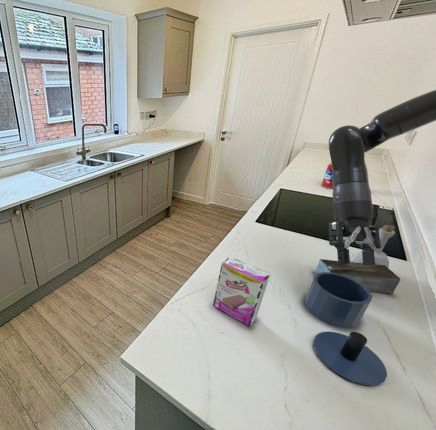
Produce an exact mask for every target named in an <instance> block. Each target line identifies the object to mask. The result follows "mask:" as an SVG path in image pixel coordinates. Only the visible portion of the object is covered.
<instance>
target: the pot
mask: <svg viewBox="0 0 436 430" xmlns="http://www.w3.org/2000/svg"><path fill="white" fill-rule="evenodd" d="M372 300H373V295H372V293H371V291H369V290H368V289H367V288H366V287H365V286H363V285H362V284H361V283H359V282H357V281H355V280H354V279H352V278H349V277H346V276H344V275H341V274H336V273H332V272H322V273H318V274H316V273H315V275H314V276H313V278H312V280H311V283H310V286H309V288H308V291H307V293H306V296H305V298H304V305H305V307H306V309H307V310H308V311H309V313H311V315H313V316H314V317H315V318H317V319H318V320H320V321H322V322H324V323H325V324H328V325H331V326H334V327H337V328H341V329H351V328H355V327H357V326H358V325H359V323H360V321H361V319H362V318H363V316H364V314H365V313H366V311H367V309H368V308H369V306H370V304H371V302H372Z"/></svg>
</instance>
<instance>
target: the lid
mask: <svg viewBox="0 0 436 430" xmlns="http://www.w3.org/2000/svg"><path fill="white" fill-rule="evenodd" d="M367 343H368V338H367V337H366V336H365V335H364V334H362V333H360V332H359V331H351V332H350V333H349V335H346V334H343V333H341V332H335V331H322V332H319V333H318V334H316V335H315V336H314V337H313V343H312V344H313V349H314V351H315V353H316V355H317V356H318V358H319V359H320V360H321V362H323V363H324V365H325V366H327V367H328V368H329V369H330V370H332V371H333V372H334V373H336V374H337V375H339V376H340V377H342V378H344V379H346V380H348V381H350V382H353V383H355V384H359V385H363V386H373V387H374V386H379V385H382V384H383V383H384V382H386V379H387V377H388V373H387V368H386V366H385V364H384V363H383V361H382V360H381V359H380V357H379V356H378V355H377V354H376V353H375V352H374V351H373V350H372V349H370V348H369V347H368V346H367Z"/></svg>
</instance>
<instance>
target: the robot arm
mask: <svg viewBox="0 0 436 430" xmlns="http://www.w3.org/2000/svg"><path fill="white" fill-rule="evenodd" d="M434 122H436V89H434V90H432V91H431V90H430V91H428V92H425V93H423V94H420V95H418V96H415V97H413V98H410V99H408V100H406V101H403V102H402V103H399V104H397V105H394V106H393V107H390V108H388V109H387V110H385V111H382V112H380V113H378V114H376V115H375V116H374V117H373V118H372V119H371V121H370V122H369V123H367V124H365V125H363V126H361V127H358V126H356V125H350V124H349V125H343V126H339V127H338V128H336V129H335V130H334V131H333V132H332V133H331V134H330V136H329V137H328V151H329V156H330V161H331V162H330V163H332V178H333V189H332V208H333V219H334V220H335V221H331V222H330V221H329V223H328V245H329V246H331V247H334V248H335V249H336V254H337V261H338V262H339V264H350V262H351V257H350V249H349V248H350V247H351V246H350V245H351V244H352V243H354V242H355V244H357V245H359V247H360V248H361V250H363V251H362V257H363V264H364V265H368V266H374V265H375V257H374V251H375V250H376V249H380V248H381V243H380V235H379V229H380V228H379V226H378V225H369V222H368V221H371V220H373V219H374V211H373V210H374V209H373V200H372V191H371V188H370V181H369V172H368V167H367V164H366V159H365V153H367V152H369V151H371V150H372V149H375V148H376V147H378V146H380V145H382V144H384V143H385V142H387V141H389V140H391V139H394V138H398V137H399V136H402V135H404V134H407V133H410V132H412V131H414V130H416V129H419V128H421V127H423V126H427V125H428V124H430V123H434ZM335 237H336V238H335ZM335 239H336V240H335Z"/></svg>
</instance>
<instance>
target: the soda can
mask: <svg viewBox="0 0 436 430" xmlns="http://www.w3.org/2000/svg"><path fill="white" fill-rule="evenodd" d="M320 186H321V187H323V188H325V189H329V190H330V189H331V190H333V178H332V162H330V163H329V164H328V165H327V167H326V169H325V172H324V175H323V178H322V181H321V185H320Z"/></svg>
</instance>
